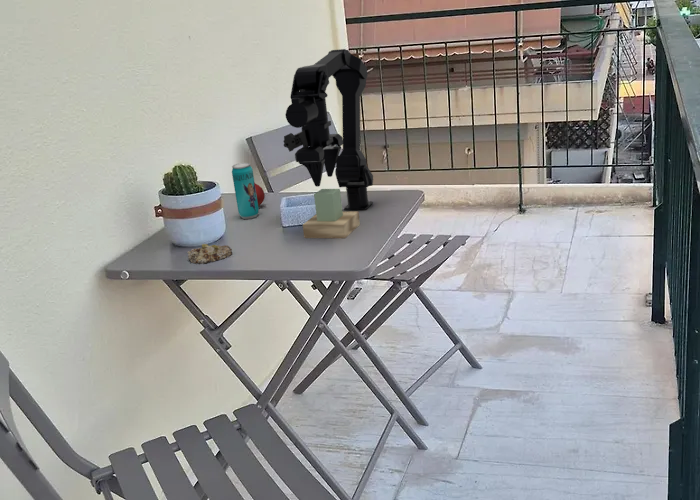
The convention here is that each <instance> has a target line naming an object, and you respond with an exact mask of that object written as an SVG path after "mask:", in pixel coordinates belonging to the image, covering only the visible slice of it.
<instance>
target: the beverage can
mask: <svg viewBox="0 0 700 500" xmlns="http://www.w3.org/2000/svg"><path fill="white" fill-rule="evenodd" d="M231 167H232V170H231V173H232V174H231V175H232V181H233V188H234V193H235V194H234V195H235V199H236V206H237V212H238V214H239V216H240V219H242V220H243V219H244V220H250V219H255V218H256V217H258V215H259V210H260V209H259V207H258V201H257V195H256V188H255V184H256V182H255V177H254V176H255V175H254V170H253V167H252V166H251V163H250V162H240V163H236V164H233V165H232V166H231Z"/></svg>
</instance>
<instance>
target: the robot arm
mask: <svg viewBox="0 0 700 500" xmlns="http://www.w3.org/2000/svg"><path fill="white" fill-rule="evenodd" d="M331 77H333V79H335V85H336V88H337V89H338V91H339V94H340V95H341V97H342V98H341V101H342V102H341V103H342V104H341V105H342V106H341V107H342V110H341V111H342V117H341V118H342V135H341V134H339V133H331V132H330V127H331V126H332V121H331V120H329V118H328V117H329V116H328V109H327V100H326V98H328V93H327V92H326V90H327V87H328V85H329V84H330V80H329V79H330V78H331ZM367 78H368V68H367V66H366V64H365V63H364V61H363V60H362V59H361V58H360V57H358V56H355V55H354V54H352V53H350V51H349V49H345V48H341V49H332V50H330V51H328V53H327V54H326V55H325V56H323V57H321V59H319V60H318V61H317V62H315V63H314V64H311V65H304V66H300V67H298V68H296V70H295V73H294V75H293V80H292V85H291V91H290V96H289V98H290V100H291V101H290V102H291V104H289V105H288V106H287V108H286V111H285V113H284V114H285V118H286V121H287V123H288V124H289V125H290V127H291V126H292V127H293V128H297V129H301V131H299V132H297V133H295V134H294V133H292V132H290V133H289V134H285V135H284V136H283V141H282V142H283V147H284V148H287V149H288V151H289V152H292V151H294V150H296V149H297V148H299V147H301V148H299V149H298V150H297V151H296V152H295V153H294V160H295V162H296V163H298V164H299V165H302V166H304V167H305V168H306V170H307V171H308V174H309V175H310V178H311V180H312V182H313V184H314V186H315V187H318V188H319V187H320V186H321V183H322V177H323V173H324V168H325V171H326V176H327V177H330V178H331V177H333V174H334V173H335V177H336V180H337V183H338V188H345V190H346V198H347V199H346V200H347V205H345V207H344V208H343V210H344V211H346V210H347V211H349V210H350V211H352V210H353V211H359V210H362V211H363V210H367V209H368V208H369V207H371V206H372V204H373V201H372V200H371V201H369V195H368V188H369V187H371V186H372V187H373V185H374V175H373V173H372V172H371V170H370V169H369V166H367V165H368V163H367V158H366V157H365V155H364V154H363V152H362V150H361V95H362V93H363V92H364V90H365V88H366V86H367ZM341 150H342V151H341Z"/></svg>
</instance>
